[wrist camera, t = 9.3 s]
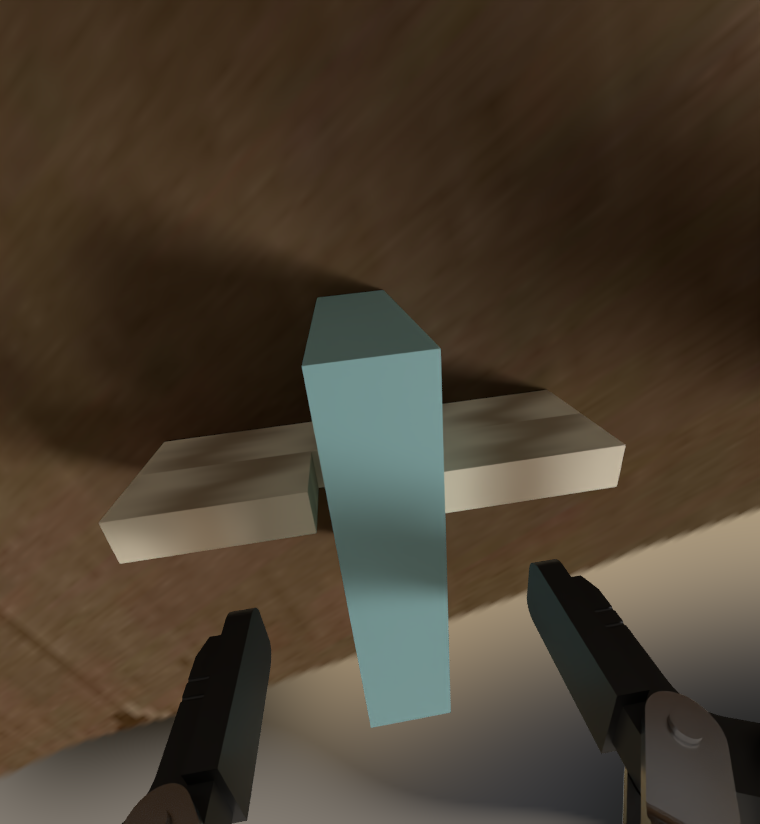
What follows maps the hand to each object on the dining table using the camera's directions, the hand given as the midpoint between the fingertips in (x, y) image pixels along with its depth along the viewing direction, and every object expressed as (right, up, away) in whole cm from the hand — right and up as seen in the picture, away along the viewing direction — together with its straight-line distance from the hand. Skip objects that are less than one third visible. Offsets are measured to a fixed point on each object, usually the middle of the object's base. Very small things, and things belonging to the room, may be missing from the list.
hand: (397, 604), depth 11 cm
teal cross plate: (-1, +5, +9) cm, 10 cm away
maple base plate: (-1, +5, +9) cm, 10 cm away
